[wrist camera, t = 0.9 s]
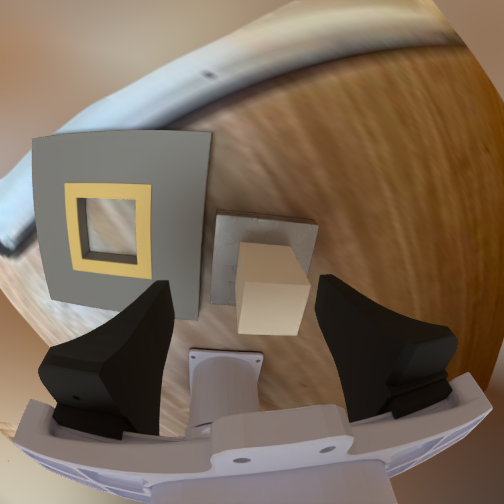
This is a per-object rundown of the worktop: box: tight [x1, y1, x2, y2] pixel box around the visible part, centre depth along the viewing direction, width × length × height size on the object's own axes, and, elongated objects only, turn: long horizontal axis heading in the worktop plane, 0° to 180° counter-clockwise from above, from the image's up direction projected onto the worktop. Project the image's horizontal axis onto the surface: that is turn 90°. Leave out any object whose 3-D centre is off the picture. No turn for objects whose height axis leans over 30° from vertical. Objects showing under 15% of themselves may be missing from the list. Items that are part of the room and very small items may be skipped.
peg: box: [235, 242, 311, 335], centre depth 19 cm, size 4×4×6 cm
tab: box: [210, 209, 319, 306], centre depth 23 cm, size 8×8×2 cm
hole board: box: [32, 130, 213, 321], centre depth 20 cm, size 16×16×2 cm
